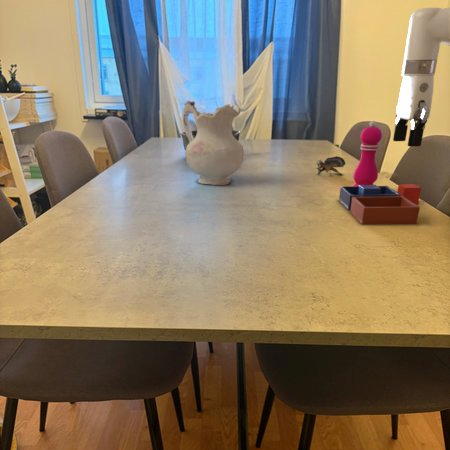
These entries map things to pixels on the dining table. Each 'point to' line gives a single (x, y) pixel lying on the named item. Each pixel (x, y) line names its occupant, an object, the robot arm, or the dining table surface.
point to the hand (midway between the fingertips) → (406, 143)
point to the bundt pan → (194, 133)
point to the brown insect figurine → (330, 164)
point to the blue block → (369, 190)
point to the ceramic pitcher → (213, 144)
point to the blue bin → (352, 191)
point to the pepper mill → (368, 156)
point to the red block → (410, 192)
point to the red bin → (384, 210)
